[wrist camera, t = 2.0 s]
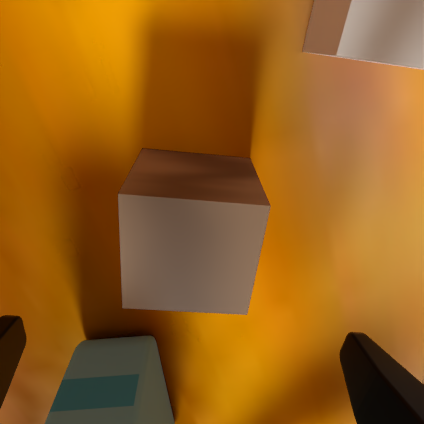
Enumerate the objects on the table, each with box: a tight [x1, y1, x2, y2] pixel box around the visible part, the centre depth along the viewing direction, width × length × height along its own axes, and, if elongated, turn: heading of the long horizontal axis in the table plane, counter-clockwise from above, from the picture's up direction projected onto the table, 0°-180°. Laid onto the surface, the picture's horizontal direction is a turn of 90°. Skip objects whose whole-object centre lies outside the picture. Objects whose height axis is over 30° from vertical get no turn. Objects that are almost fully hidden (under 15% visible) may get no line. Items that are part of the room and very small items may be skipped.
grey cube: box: [118, 148, 270, 315], centre depth 14 cm, size 5×5×5 cm
